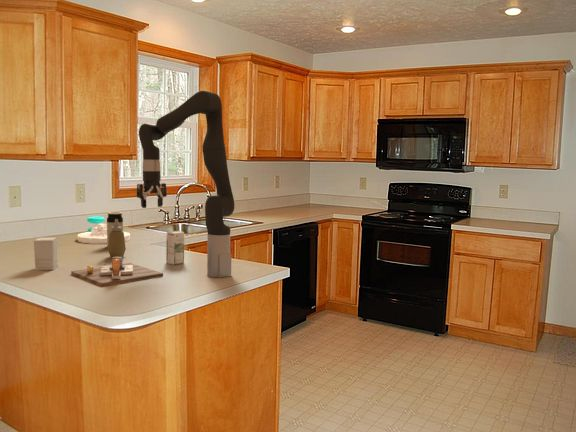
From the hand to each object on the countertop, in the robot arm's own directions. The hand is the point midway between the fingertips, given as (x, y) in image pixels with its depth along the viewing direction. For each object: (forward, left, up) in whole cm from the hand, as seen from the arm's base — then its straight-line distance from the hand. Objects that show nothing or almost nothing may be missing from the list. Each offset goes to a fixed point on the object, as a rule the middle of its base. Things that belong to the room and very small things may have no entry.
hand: (152, 207), depth 228 cm
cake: (+75, -15, -26) cm, 81 cm away
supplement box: (+21, +38, -26) cm, 50 cm away
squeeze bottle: (+25, +4, -26) cm, 36 cm away
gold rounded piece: (-5, +31, -24) cm, 40 cm away
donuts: (+99, -22, -26) cm, 105 cm away
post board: (-9, +22, -26) cm, 35 cm away
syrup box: (-4, -9, -26) cm, 28 cm away
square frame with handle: (-12, +23, -24) cm, 36 cm away
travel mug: (+51, -9, -26) cm, 58 cm away
